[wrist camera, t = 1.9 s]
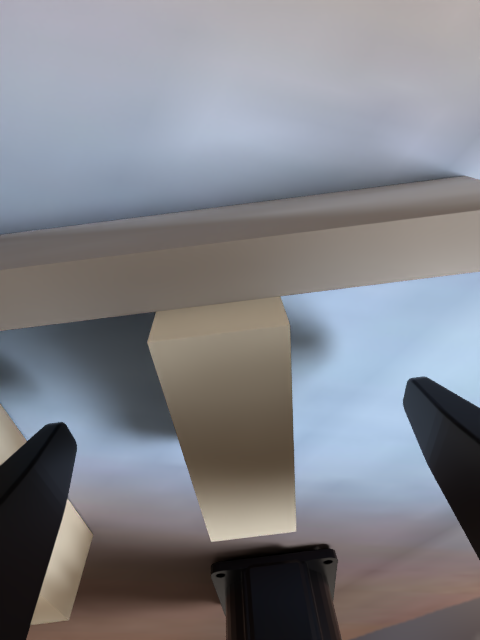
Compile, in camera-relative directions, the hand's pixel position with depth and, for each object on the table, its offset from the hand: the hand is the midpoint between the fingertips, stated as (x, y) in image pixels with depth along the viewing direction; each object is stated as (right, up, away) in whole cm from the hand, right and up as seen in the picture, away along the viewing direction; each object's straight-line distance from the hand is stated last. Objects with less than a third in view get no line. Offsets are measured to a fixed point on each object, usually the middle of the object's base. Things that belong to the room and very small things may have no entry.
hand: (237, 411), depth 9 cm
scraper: (0, +1, +2) cm, 2 cm away
